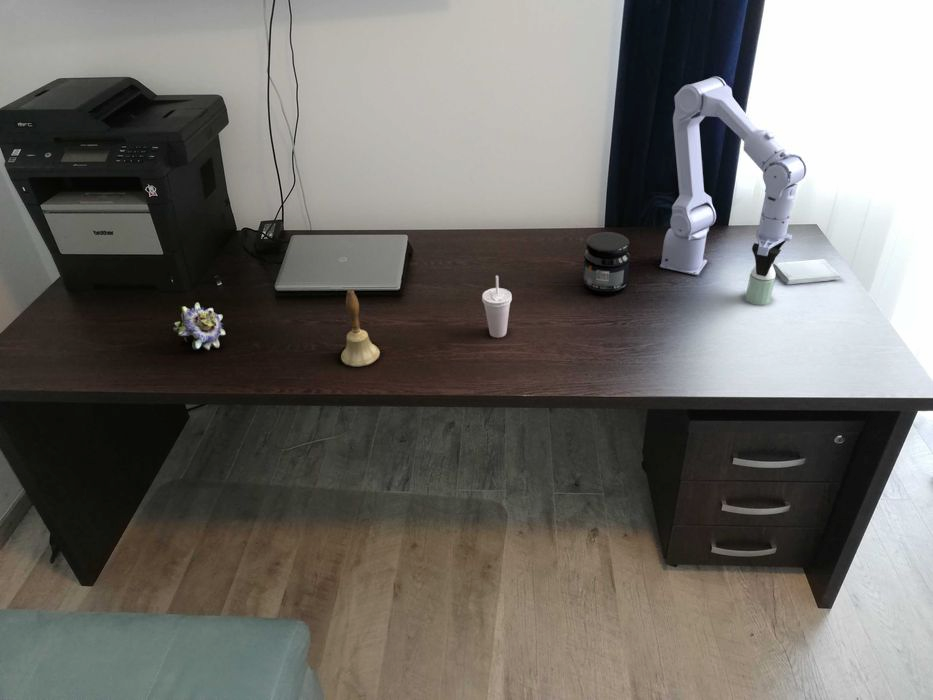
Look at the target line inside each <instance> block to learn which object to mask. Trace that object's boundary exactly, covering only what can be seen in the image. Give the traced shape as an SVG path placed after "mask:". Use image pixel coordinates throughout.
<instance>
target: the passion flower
mask: <svg viewBox="0 0 933 700" xmlns="http://www.w3.org/2000/svg"><path fill="white" fill-rule="evenodd" d="M180 309H181V311H182V312H181V321H176V322H174V323H173V326H174V327H172V329H171V330H172V331H173V332H175V333H177V336H178V337H182V338H183V339H184V341H185V342H186V343H188V339H189V338H190V336H192V337H193V341H192V343H191V344H192V345H191V346H192V349H193V350H194V351H197V350H199V349H200V348H201V347H202V348H203V349H204V350H206V351H210V349H211V347H212V348H214V349H219V348H220V341H219V337H220V336H222V337H223V336H226V331H225V329H223V328H224V326H222V325H224V323H222V322H221V321H222V320H223V319H224V318H223V317H224V316H223V314H217V313H216V312H214V308H213V307H209V308H207V307H205V309H204V306H202V307H201V305H200V303H199V302H195V304H194V306H193V307H191V308H188V307H186V306H181V307H180ZM181 322H182V323H181ZM180 325H181V326H180Z"/></svg>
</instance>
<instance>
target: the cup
mask: <svg viewBox="0 0 933 700" xmlns="http://www.w3.org/2000/svg"><path fill="white" fill-rule="evenodd" d="M775 281H776V276H775V277H774V278H773V279H770V280H760V279H757V278H755V277H753V276H752V274H751V273H750V274H749V278H748V281H747V282H748V283H747V287H746V293H745V300H746V301H747V302H748V303H750V304H752V305H756V306H764V305H768V304H769V303H770V302H771V298H772V294H773V289H774V286H775Z"/></svg>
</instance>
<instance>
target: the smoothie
mask: <svg viewBox="0 0 933 700" xmlns="http://www.w3.org/2000/svg"><path fill="white" fill-rule="evenodd" d="M499 285H500V283H499V275H495V287H492V288H489V289H486V290H485V291H483V292H482V295H481V301H482V303H483V306H484V311H485V316H486V322H487V327H488V331H489V335H490V336H491V337H493V338H503V337H505V336H506V335H507V331H508V324H509V323H508V322H509V316H510V315H509V314H510V306H511V302H512V300H513V297H512V296H513V295H512V292H511V291H510V290H508V289H506V288H502V287H499Z"/></svg>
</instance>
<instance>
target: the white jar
mask: <svg viewBox="0 0 933 700" xmlns="http://www.w3.org/2000/svg"><path fill="white" fill-rule="evenodd" d="M750 274H752V276H753V277H755V278H757V279H760V280H770V279H773V278H774V277H775V278H776V275H777V273H776V272H775V270H774V268H773V264H772V265H771V267H770V270H769V272H768V274H767V275H766V276H761V275H757V274H756V265H755V266H754V267H753V268H752V269H751V271H750Z"/></svg>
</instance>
